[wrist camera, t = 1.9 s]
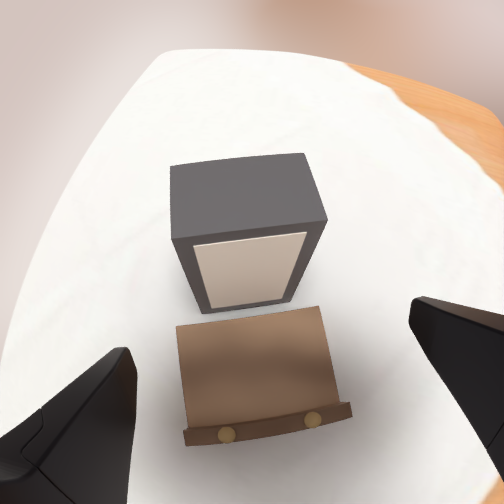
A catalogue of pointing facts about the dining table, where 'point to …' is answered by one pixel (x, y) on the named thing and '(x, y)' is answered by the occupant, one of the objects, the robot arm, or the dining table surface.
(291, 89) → the dining table surface
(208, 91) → the dining table surface
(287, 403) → the drawer
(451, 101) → the dining table surface
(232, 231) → the grey box
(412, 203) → the dining table surface
